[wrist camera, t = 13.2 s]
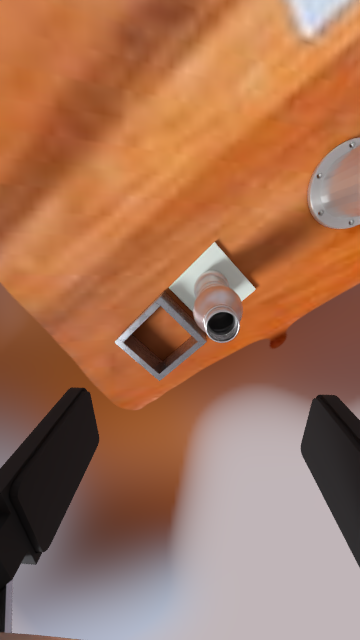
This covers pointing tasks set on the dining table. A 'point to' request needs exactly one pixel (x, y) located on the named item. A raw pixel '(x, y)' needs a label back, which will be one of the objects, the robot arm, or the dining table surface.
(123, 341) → the steel collar
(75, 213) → the dining table surface
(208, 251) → the mat
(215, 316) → the plastic bottle
